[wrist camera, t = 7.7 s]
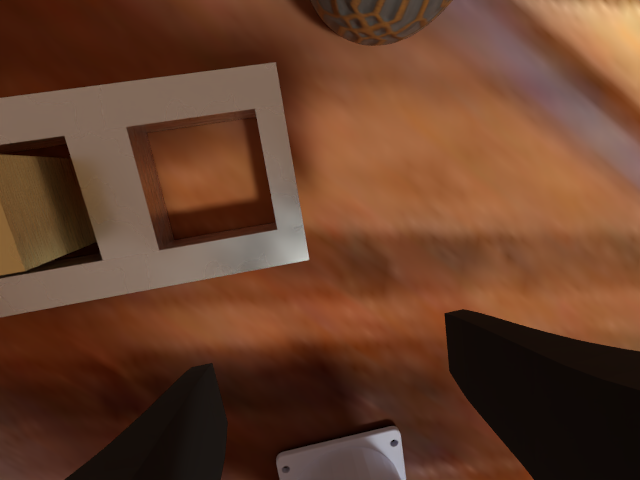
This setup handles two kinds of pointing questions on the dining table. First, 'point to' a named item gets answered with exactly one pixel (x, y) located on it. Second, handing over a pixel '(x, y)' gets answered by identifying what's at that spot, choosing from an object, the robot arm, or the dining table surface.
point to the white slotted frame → (149, 183)
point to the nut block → (40, 212)
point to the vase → (378, 18)
